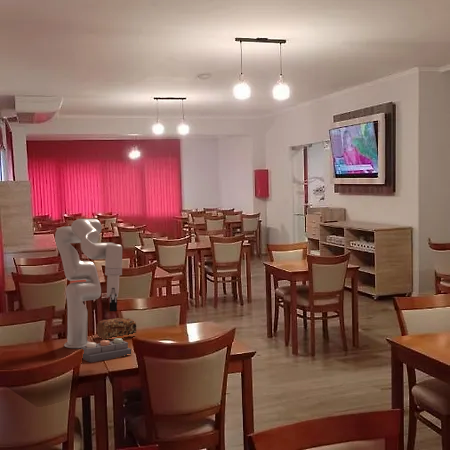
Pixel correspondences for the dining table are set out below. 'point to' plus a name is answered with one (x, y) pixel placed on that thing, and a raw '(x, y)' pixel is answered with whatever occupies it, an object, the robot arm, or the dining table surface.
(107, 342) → the terracotta button
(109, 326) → the bread
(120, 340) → the sage button
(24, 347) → the dining table surface
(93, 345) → the cream button
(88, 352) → the button panel
